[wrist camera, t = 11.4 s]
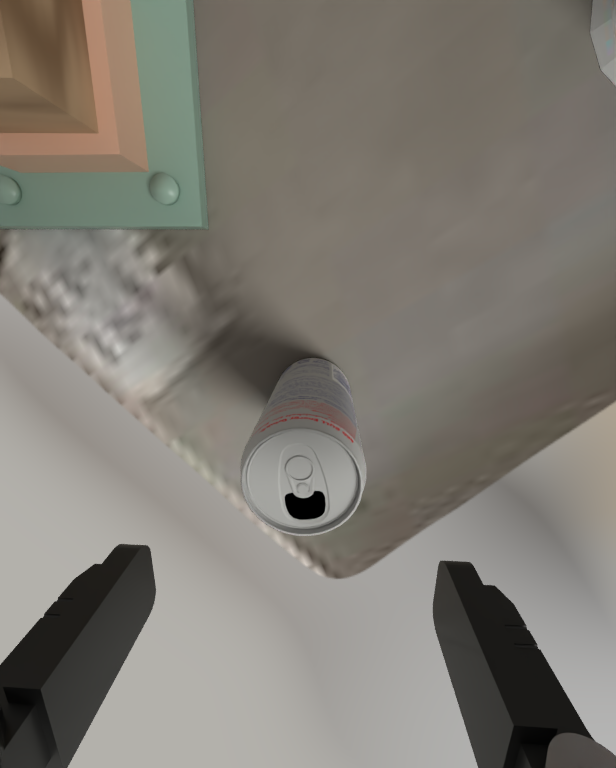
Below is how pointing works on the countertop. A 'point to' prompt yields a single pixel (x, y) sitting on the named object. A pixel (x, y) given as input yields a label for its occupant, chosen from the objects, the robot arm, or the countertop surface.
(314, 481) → the energy drink
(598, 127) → the countertop surface
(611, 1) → the french press
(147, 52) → the plate
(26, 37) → the walnut block
